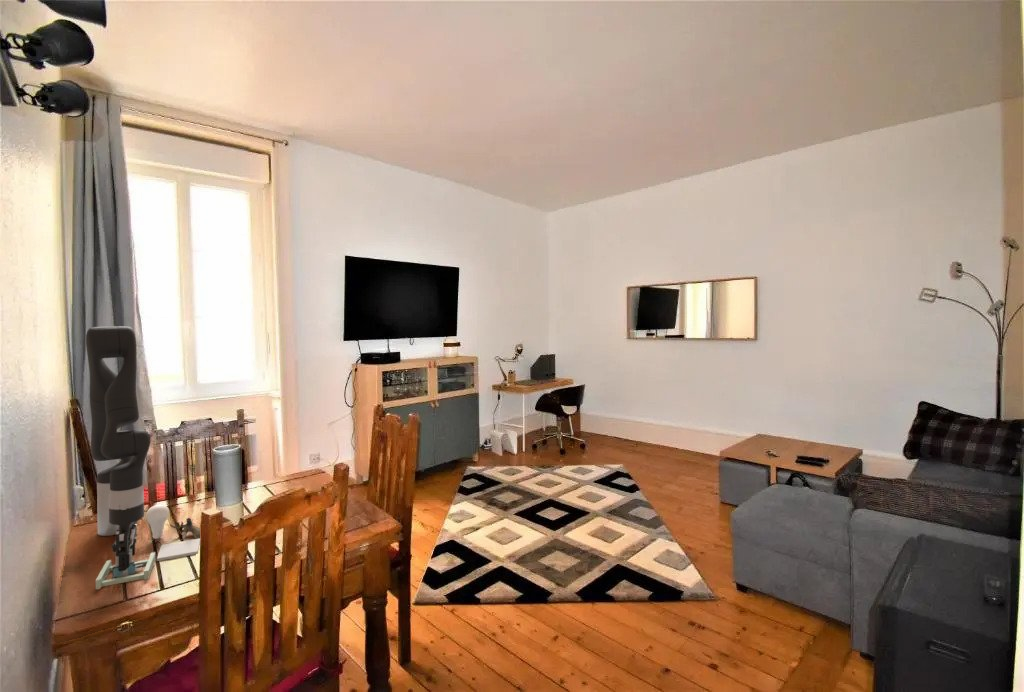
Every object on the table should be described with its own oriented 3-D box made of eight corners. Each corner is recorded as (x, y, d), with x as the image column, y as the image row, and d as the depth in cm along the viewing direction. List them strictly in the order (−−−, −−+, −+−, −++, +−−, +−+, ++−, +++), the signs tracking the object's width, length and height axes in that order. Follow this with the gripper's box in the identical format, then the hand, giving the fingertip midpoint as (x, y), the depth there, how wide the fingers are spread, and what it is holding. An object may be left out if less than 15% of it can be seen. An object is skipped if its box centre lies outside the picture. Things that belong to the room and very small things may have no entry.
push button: (140, 566, 135) (140, 531, 135) (144, 573, 131) (143, 537, 131) (110, 574, 130) (109, 539, 130) (113, 582, 127) (112, 545, 126)
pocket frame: (106, 569, 133) (106, 560, 133) (155, 560, 139) (155, 552, 139) (95, 589, 123) (95, 580, 123) (148, 579, 128) (148, 570, 128)
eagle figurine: (164, 537, 151) (187, 535, 149) (173, 514, 155) (195, 512, 153) (184, 542, 157) (206, 540, 155) (192, 519, 161) (213, 517, 159)
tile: (161, 547, 147) (161, 544, 147) (200, 540, 152) (200, 538, 152) (156, 561, 138) (156, 558, 138) (197, 553, 143) (197, 551, 143)
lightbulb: (156, 543, 149) (156, 509, 149) (140, 541, 150) (140, 507, 150) (174, 535, 155) (173, 502, 155) (158, 533, 156) (158, 500, 156)
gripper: (115, 497, 135) (115, 554, 135) (102, 514, 122) (103, 577, 123) (148, 493, 138) (148, 548, 139) (139, 509, 126) (139, 570, 126)
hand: (127, 561), depth 131 cm, fingers open, 7 cm apart
